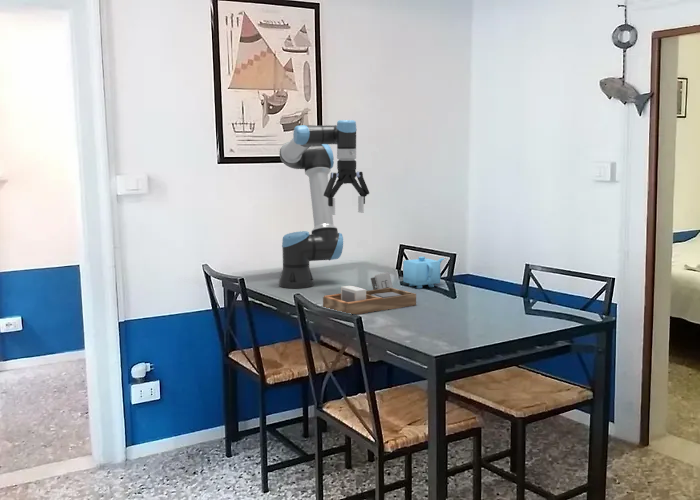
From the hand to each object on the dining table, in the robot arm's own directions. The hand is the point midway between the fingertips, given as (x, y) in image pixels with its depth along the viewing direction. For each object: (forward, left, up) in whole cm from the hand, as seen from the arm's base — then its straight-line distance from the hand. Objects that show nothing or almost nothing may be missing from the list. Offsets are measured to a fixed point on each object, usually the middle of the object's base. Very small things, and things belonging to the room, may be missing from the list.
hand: (346, 213), depth 303 cm
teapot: (-1, +43, -34) cm, 55 cm away
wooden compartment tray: (+20, -3, -34) cm, 40 cm away
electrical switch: (+5, +14, -34) cm, 37 cm away
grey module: (+21, +4, -34) cm, 40 cm away
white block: (+20, -11, -34) cm, 41 cm away
